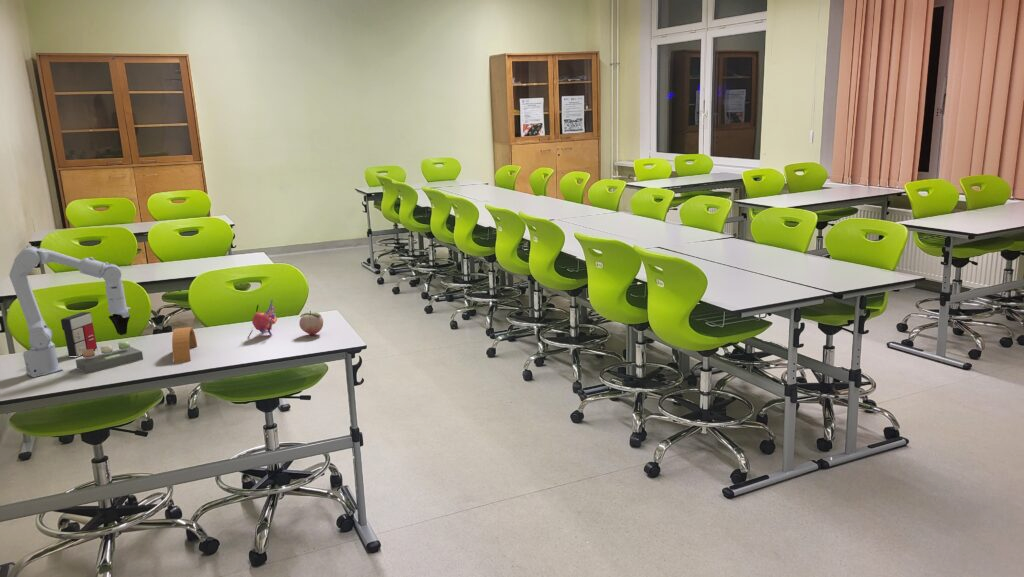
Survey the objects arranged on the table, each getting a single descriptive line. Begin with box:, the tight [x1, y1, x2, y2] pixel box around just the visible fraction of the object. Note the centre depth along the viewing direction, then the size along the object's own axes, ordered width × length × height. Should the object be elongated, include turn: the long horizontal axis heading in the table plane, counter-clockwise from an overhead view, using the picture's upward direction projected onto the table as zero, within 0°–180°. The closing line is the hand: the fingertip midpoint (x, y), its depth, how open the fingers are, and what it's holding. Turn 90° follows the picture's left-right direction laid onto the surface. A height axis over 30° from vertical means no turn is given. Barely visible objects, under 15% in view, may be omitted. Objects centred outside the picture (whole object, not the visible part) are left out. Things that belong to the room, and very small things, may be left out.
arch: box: [171, 326, 198, 364], centre depth 272 cm, size 6×20×10 cm, turn 16°
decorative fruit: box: [299, 310, 324, 336], centre depth 290 cm, size 9×8×10 cm
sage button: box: [117, 340, 131, 350], centre depth 270 cm, size 4×4×2 cm
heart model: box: [247, 298, 278, 339], centre depth 293 cm, size 17×10×20 cm
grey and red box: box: [60, 311, 98, 357], centre depth 279 cm, size 11×4×15 cm, turn 168°
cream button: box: [100, 344, 114, 354], centre depth 266 cm, size 4×4×2 cm
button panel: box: [75, 346, 144, 374], centre depth 266 cm, size 19×10×3 cm, turn 137°
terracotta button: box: [82, 349, 96, 358], centre depth 262 cm, size 4×4×2 cm
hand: (122, 334), depth 269 cm, fingers closed
